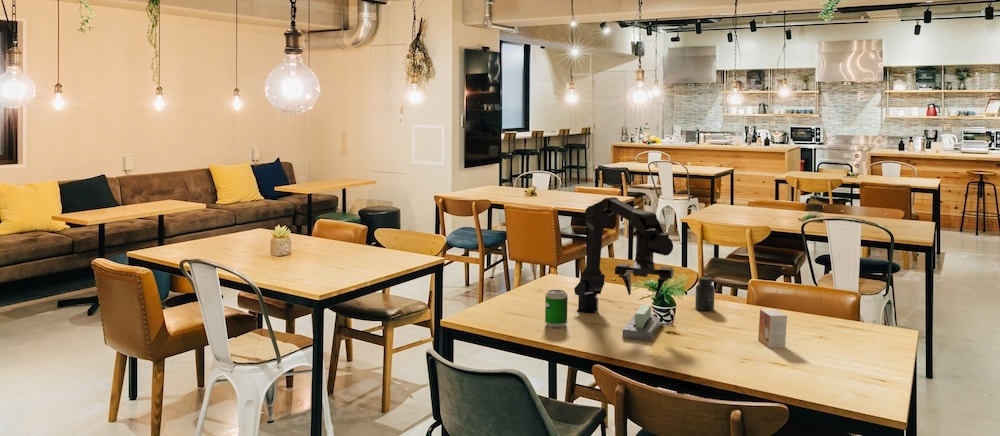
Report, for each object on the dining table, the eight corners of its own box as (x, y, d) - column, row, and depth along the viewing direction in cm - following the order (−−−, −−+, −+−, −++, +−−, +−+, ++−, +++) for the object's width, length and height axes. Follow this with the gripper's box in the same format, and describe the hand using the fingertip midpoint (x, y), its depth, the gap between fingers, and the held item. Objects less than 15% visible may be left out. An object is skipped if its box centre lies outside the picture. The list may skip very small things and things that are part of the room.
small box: (757, 340, 251) (759, 309, 249) (774, 340, 251) (776, 308, 250) (768, 348, 243) (770, 315, 242) (785, 347, 244) (787, 315, 242)
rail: (622, 338, 253) (622, 329, 252) (636, 320, 273) (636, 312, 272) (650, 341, 249) (650, 332, 249) (661, 323, 270) (662, 315, 269)
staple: (634, 335, 256) (635, 313, 255) (641, 325, 267) (642, 304, 266) (643, 336, 255) (644, 314, 254) (650, 326, 266) (651, 305, 265)
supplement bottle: (712, 307, 292) (713, 276, 290) (715, 312, 285) (716, 280, 283) (693, 306, 292) (694, 275, 290) (696, 311, 286) (697, 279, 284)
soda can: (570, 324, 269) (570, 290, 267) (562, 329, 262) (563, 295, 260) (549, 321, 272) (550, 288, 270) (541, 327, 265) (542, 292, 263)
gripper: (611, 252, 253) (610, 299, 256) (669, 257, 247) (667, 304, 249) (619, 246, 264) (617, 291, 266) (674, 250, 257) (672, 296, 259)
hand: (643, 296), depth 260 cm, fingers open, 9 cm apart
